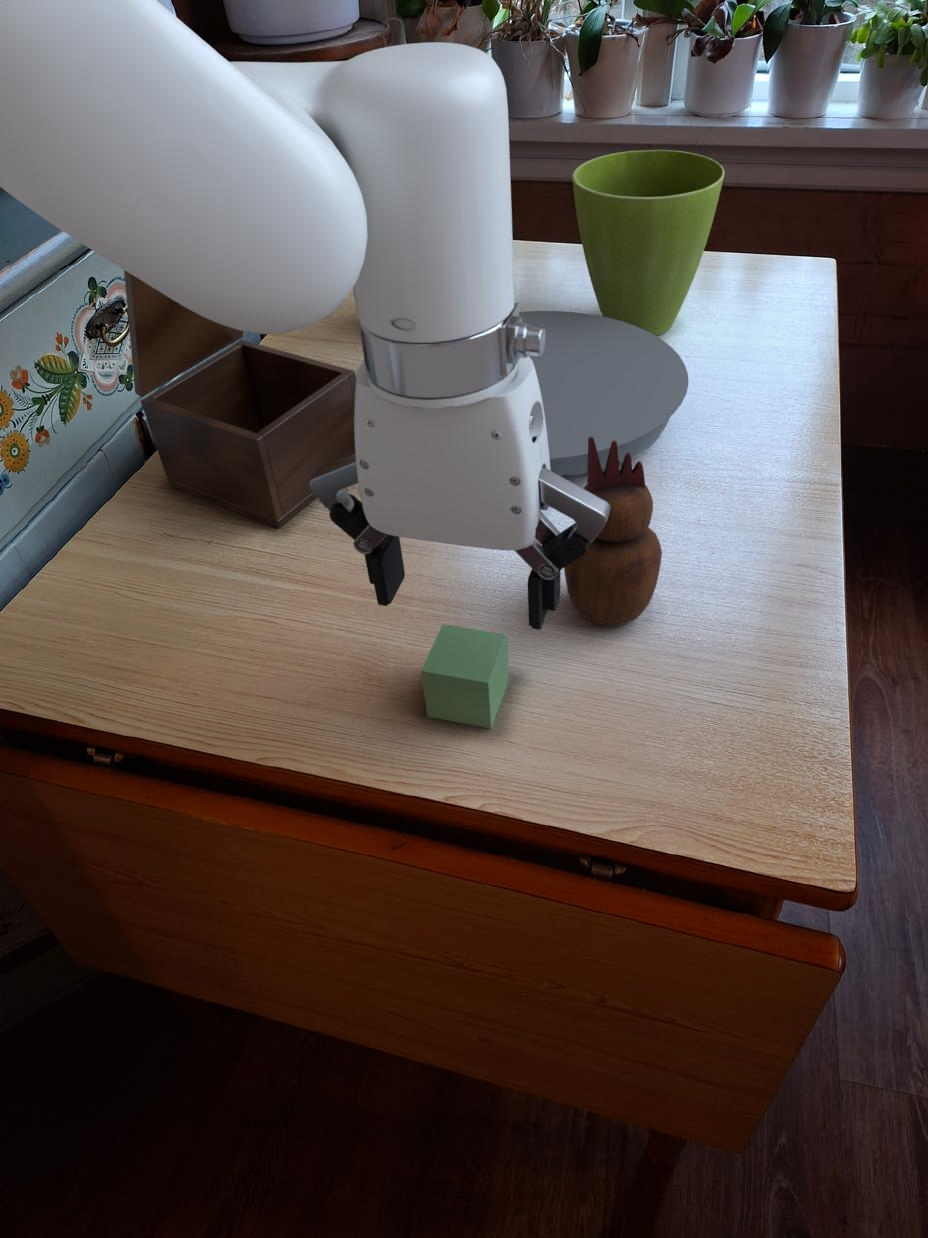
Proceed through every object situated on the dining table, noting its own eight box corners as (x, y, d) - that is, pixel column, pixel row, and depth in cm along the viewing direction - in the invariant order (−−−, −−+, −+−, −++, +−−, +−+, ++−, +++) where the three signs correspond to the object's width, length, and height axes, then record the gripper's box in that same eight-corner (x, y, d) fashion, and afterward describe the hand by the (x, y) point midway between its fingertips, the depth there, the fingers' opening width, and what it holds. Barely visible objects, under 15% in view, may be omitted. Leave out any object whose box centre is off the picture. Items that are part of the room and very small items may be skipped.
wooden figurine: (555, 628, 66) (557, 453, 56) (572, 578, 70) (576, 406, 60) (648, 643, 65) (667, 465, 55) (660, 591, 69) (680, 416, 59)
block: (427, 717, 61) (421, 670, 58) (447, 669, 64) (442, 623, 61) (491, 729, 60) (488, 683, 57) (509, 680, 63) (507, 634, 60)
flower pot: (547, 340, 100) (547, 187, 89) (601, 287, 109) (607, 143, 98) (678, 365, 94) (695, 205, 83) (723, 307, 103) (744, 156, 92)
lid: (247, 189, 73) (201, 161, 74) (128, 244, 66) (78, 212, 67) (243, 336, 84) (203, 310, 85) (141, 397, 77) (98, 368, 78)
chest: (368, 456, 85) (355, 370, 79) (279, 528, 78) (256, 440, 72) (261, 421, 91) (241, 339, 85) (169, 485, 83) (139, 400, 77)
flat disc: (345, 476, 83) (337, 434, 80) (451, 338, 101) (448, 300, 98) (651, 525, 75) (655, 480, 72) (705, 366, 93) (710, 325, 90)
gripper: (629, 321, 45) (614, 582, 56) (310, 300, 49) (358, 547, 61) (600, 397, 40) (591, 668, 51) (247, 367, 44) (313, 622, 56)
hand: (464, 602), depth 56 cm, fingers open, 9 cm apart
